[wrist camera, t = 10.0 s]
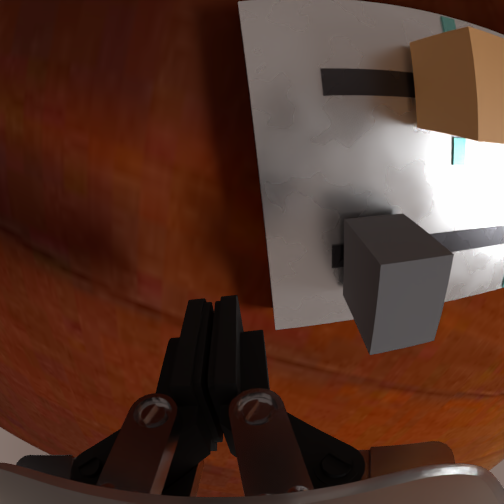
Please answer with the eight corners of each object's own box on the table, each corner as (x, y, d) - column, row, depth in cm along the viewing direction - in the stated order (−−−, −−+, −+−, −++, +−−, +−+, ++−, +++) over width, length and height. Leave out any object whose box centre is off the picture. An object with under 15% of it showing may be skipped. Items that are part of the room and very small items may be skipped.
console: (570, 75, 11) (588, 78, 9) (556, 256, 17) (571, 267, 16) (238, 14, 12) (237, 0, 10) (273, 308, 18) (275, 331, 16)
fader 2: (460, 52, 10) (522, 46, 6) (465, 131, 12) (528, 146, 8) (409, 42, 10) (468, 26, 6) (417, 127, 12) (478, 141, 8)
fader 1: (403, 213, 13) (453, 254, 9) (396, 286, 15) (433, 340, 11) (343, 218, 14) (380, 265, 10) (342, 295, 15) (369, 354, 11)
